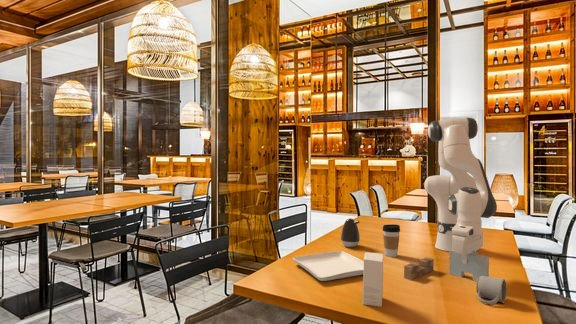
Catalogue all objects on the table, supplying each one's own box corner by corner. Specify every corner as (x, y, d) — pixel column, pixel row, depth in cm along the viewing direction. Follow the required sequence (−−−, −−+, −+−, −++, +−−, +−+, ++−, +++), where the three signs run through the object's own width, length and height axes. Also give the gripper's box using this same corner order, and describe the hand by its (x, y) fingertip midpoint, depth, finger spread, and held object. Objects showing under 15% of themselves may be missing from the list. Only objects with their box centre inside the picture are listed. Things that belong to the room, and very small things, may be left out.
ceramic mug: (480, 291, 122) (480, 271, 122) (507, 298, 117) (507, 276, 116) (472, 301, 115) (472, 279, 114) (500, 309, 109) (500, 286, 109)
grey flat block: (449, 273, 141) (449, 250, 140) (452, 272, 143) (453, 249, 142) (485, 283, 130) (485, 258, 130) (488, 282, 132) (489, 256, 131)
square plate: (291, 264, 153) (291, 256, 153) (342, 257, 164) (342, 249, 164) (319, 286, 128) (319, 276, 128) (377, 276, 139) (377, 266, 139)
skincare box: (364, 294, 120) (364, 251, 119) (383, 297, 118) (383, 253, 117) (362, 305, 111) (362, 258, 111) (382, 307, 110) (383, 260, 109)
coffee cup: (401, 258, 162) (401, 227, 161) (382, 257, 163) (383, 226, 163) (398, 253, 170) (399, 223, 170) (381, 252, 172) (381, 223, 171)
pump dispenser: (355, 249, 176) (355, 221, 175) (337, 246, 182) (337, 218, 182) (363, 245, 184) (363, 218, 183) (346, 242, 190) (346, 216, 190)
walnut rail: (426, 268, 147) (426, 257, 147) (433, 270, 145) (433, 258, 145) (404, 277, 136) (404, 265, 136) (410, 280, 134) (410, 267, 133)
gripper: (471, 223, 145) (471, 254, 145) (449, 230, 132) (449, 264, 132) (487, 225, 140) (487, 258, 140) (466, 232, 127) (465, 269, 127)
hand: (468, 261), depth 136 cm, fingers open, 5 cm apart
